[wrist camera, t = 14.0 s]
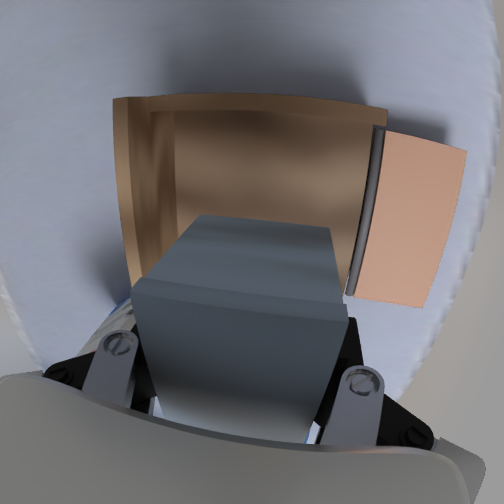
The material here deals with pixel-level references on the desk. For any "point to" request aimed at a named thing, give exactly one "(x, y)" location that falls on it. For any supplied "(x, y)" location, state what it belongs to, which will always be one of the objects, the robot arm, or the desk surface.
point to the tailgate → (405, 218)
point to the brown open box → (239, 166)
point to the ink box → (111, 325)
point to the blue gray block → (243, 326)
